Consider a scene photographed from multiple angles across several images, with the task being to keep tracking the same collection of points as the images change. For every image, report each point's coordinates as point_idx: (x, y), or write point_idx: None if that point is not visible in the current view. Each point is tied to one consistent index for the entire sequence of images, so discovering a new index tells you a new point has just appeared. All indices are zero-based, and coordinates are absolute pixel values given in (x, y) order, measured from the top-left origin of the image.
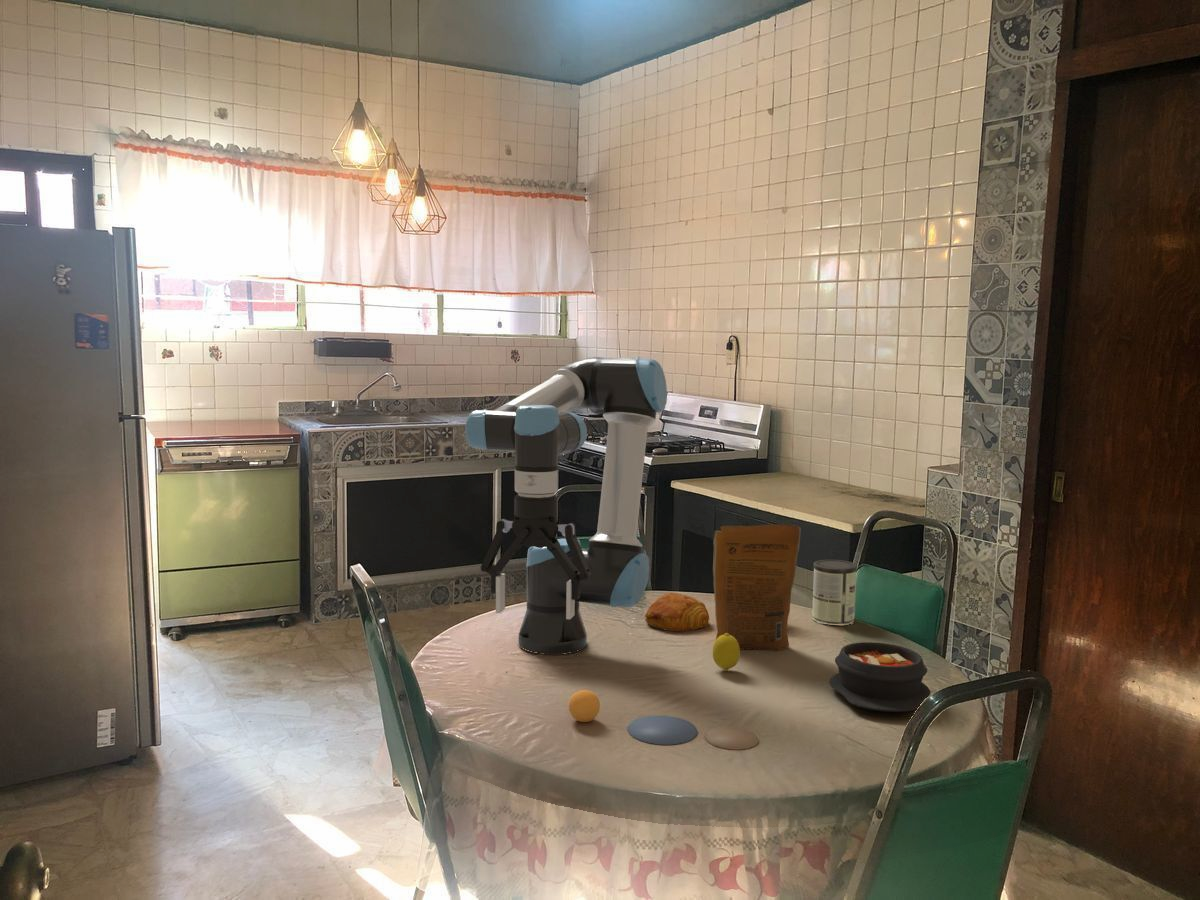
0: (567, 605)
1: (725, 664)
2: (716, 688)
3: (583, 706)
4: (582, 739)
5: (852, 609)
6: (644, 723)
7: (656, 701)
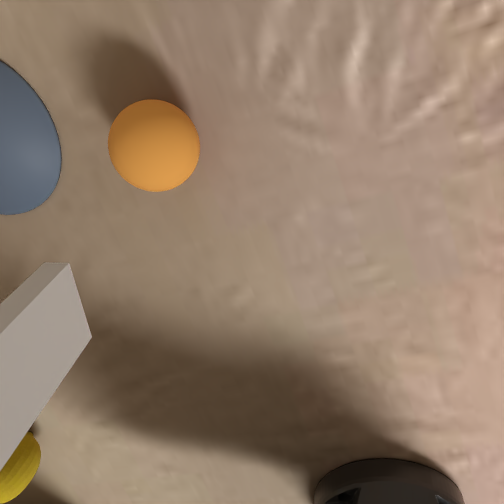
0: (6, 315)
1: None
2: None
3: (133, 107)
4: (121, 7)
5: None
6: (28, 157)
7: None
